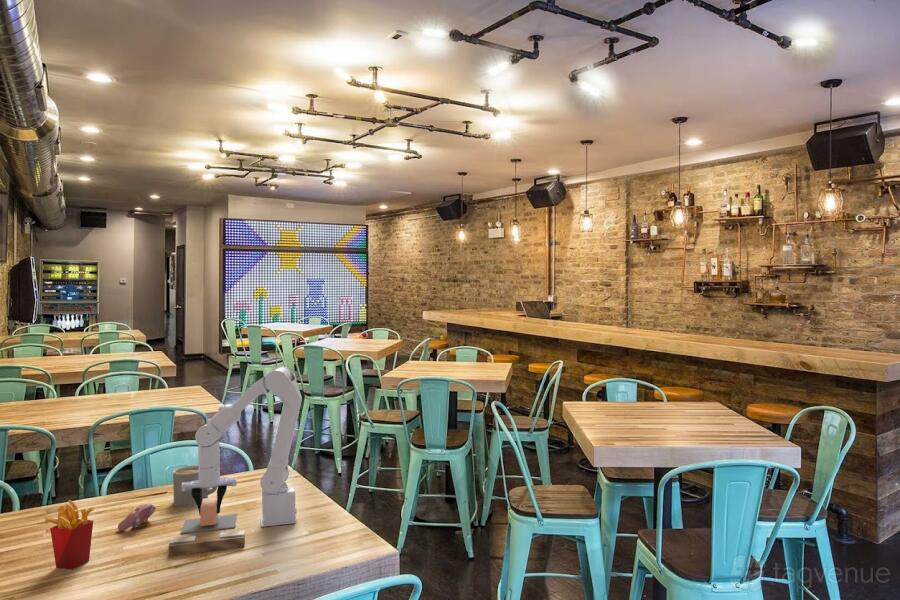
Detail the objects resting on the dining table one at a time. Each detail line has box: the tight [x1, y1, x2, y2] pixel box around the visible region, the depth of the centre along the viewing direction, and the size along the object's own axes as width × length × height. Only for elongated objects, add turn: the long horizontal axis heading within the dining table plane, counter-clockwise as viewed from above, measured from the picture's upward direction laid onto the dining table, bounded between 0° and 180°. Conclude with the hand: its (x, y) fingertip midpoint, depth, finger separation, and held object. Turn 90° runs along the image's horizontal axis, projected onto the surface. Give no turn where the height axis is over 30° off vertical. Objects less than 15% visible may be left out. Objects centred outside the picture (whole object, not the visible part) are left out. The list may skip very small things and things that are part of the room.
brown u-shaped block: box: [168, 529, 246, 557], centre depth 157 cm, size 18×4×3 cm, turn 107°
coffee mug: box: [172, 464, 218, 507], centre depth 192 cm, size 13×10×10 cm
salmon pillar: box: [199, 496, 219, 526], centre depth 172 cm, size 4×8×5 cm, turn 17°
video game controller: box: [117, 502, 157, 532], centre depth 172 cm, size 10×5×7 cm, turn 169°
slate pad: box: [180, 513, 238, 535], centre depth 173 cm, size 14×10×1 cm
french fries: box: [44, 499, 95, 571], centre depth 147 cm, size 9×8×15 cm
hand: (209, 513), depth 174 cm, fingers closed on salmon pillar, 4 cm apart
